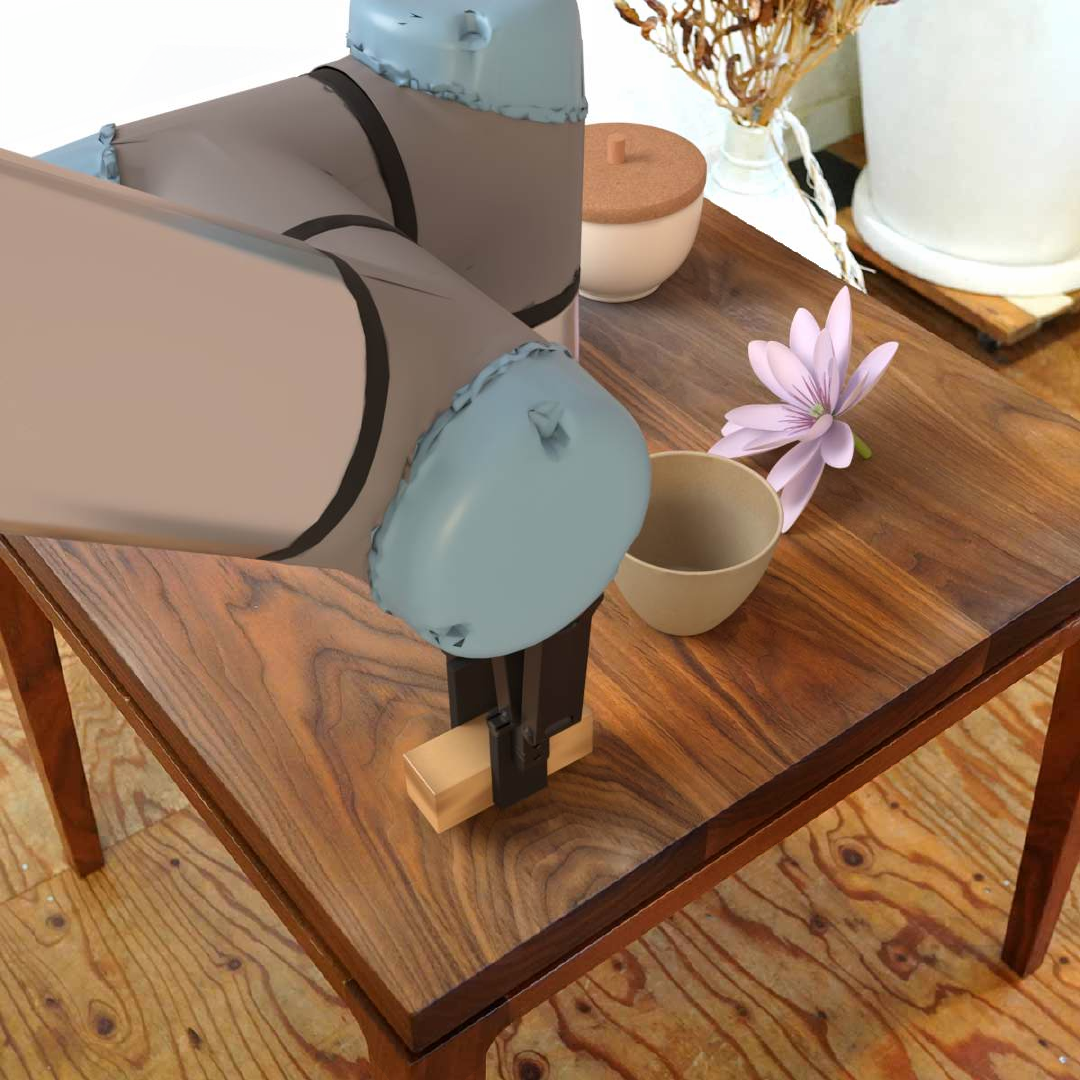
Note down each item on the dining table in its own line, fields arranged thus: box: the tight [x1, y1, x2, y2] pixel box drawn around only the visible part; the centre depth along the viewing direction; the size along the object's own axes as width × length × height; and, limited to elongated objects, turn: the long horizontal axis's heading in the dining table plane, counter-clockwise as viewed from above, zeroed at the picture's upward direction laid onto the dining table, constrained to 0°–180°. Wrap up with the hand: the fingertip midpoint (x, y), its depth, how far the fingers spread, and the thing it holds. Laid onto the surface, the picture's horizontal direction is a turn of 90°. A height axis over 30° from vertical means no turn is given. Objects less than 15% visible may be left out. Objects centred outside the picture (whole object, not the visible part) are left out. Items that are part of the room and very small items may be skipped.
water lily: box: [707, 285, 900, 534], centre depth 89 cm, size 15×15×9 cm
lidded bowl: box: [579, 122, 708, 303], centre depth 104 cm, size 13×13×11 cm
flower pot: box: [612, 450, 784, 637], centre depth 80 cm, size 10×10×7 cm
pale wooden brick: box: [402, 701, 594, 835], centre depth 71 cm, size 9×3×3 cm, turn 124°
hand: (499, 768), depth 72 cm, fingers closed on pale wooden brick, 3 cm apart
